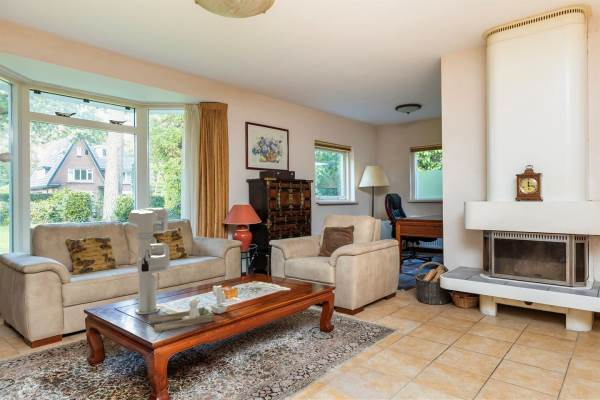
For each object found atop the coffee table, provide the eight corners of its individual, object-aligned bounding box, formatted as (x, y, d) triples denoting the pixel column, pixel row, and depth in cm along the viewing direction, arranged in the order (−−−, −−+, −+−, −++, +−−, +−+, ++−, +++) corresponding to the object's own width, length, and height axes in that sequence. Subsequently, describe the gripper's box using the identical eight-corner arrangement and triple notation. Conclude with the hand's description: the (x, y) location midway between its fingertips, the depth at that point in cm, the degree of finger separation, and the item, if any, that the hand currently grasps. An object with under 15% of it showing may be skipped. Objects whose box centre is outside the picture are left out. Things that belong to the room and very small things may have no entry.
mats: (150, 323, 190) (150, 323, 190) (161, 321, 193) (161, 321, 193) (155, 330, 181) (155, 330, 181) (167, 328, 184) (167, 327, 184)
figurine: (219, 315, 204) (219, 288, 204) (208, 311, 210) (208, 285, 210) (229, 312, 210) (229, 286, 210) (218, 308, 216) (218, 283, 215)
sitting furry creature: (197, 316, 202) (197, 295, 202) (205, 320, 196) (206, 298, 196) (181, 320, 195) (181, 298, 195) (189, 325, 189) (189, 301, 189)
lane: (149, 323, 191) (149, 315, 191) (204, 313, 207) (204, 306, 207) (154, 331, 180) (154, 323, 179) (213, 320, 196) (213, 313, 196)
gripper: (134, 234, 194) (134, 269, 195) (140, 237, 182) (140, 274, 182) (149, 234, 199) (149, 268, 199) (155, 237, 186) (155, 273, 186)
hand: (145, 271), depth 191 cm, fingers closed
